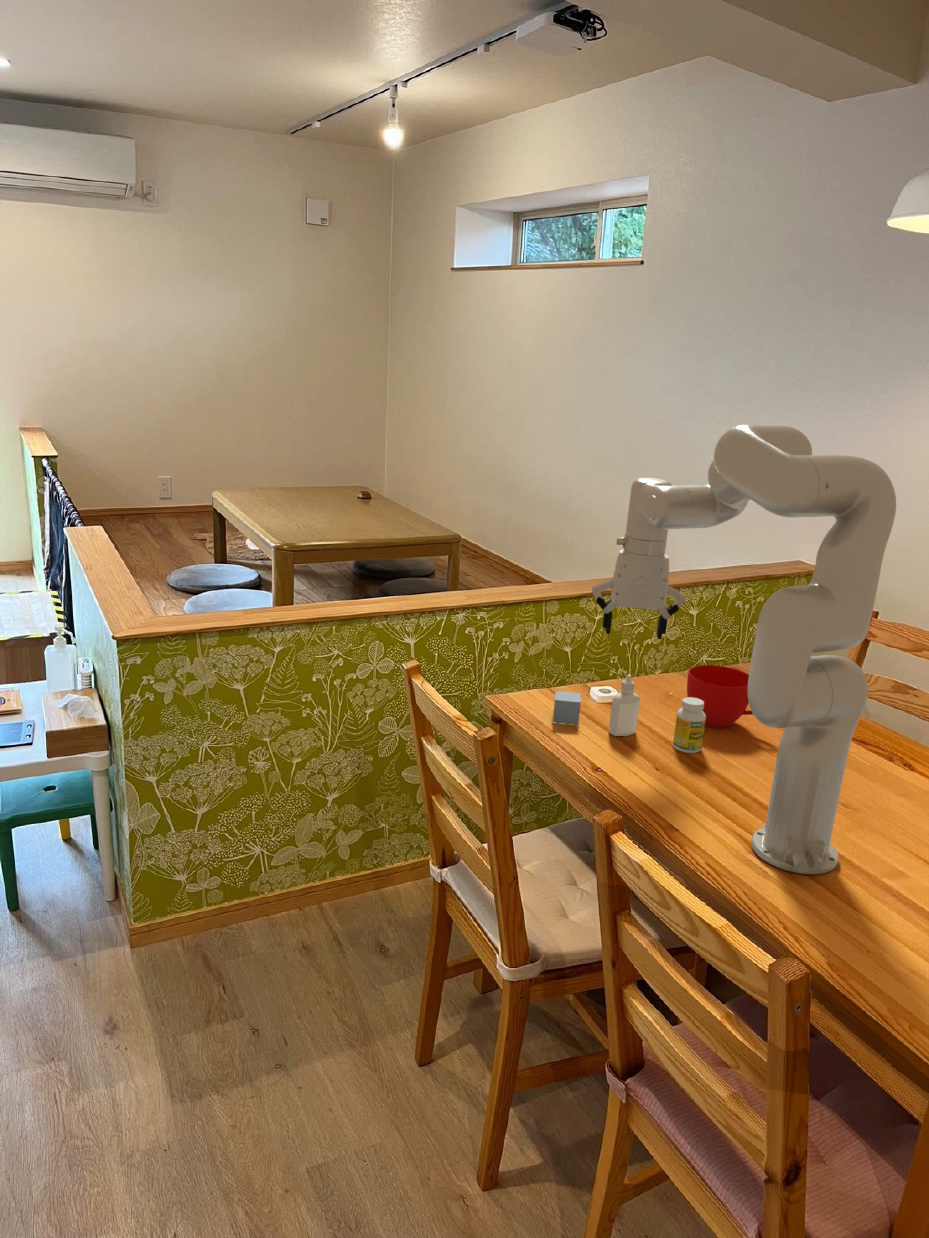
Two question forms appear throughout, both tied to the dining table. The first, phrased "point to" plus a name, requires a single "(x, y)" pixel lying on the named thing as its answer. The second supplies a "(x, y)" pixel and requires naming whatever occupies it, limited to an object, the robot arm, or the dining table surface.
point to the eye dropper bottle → (624, 710)
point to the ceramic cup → (719, 693)
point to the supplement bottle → (689, 726)
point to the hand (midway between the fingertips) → (633, 634)
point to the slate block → (567, 707)
